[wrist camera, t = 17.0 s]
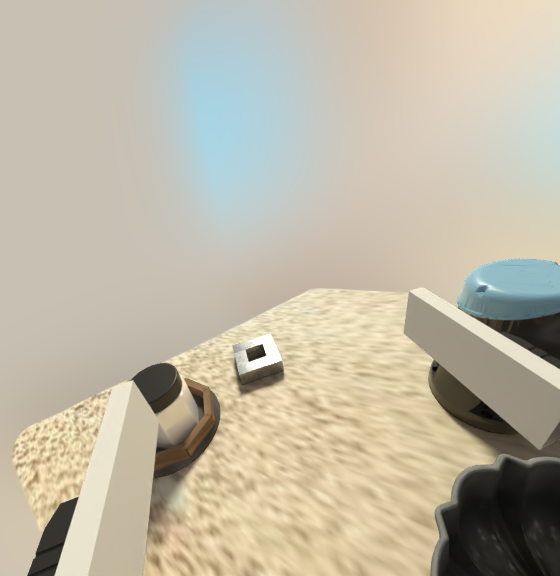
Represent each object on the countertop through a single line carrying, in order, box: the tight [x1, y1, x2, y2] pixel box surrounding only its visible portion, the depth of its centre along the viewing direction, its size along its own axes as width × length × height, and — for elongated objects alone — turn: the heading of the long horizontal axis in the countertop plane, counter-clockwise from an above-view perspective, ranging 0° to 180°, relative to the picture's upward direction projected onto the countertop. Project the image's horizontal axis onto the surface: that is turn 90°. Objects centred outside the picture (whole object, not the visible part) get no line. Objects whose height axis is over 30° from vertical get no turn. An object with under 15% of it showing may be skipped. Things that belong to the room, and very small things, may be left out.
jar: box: [131, 363, 199, 449], centre depth 44 cm, size 9×8×12 cm
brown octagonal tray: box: [153, 378, 220, 477], centre depth 47 cm, size 17×17×3 cm
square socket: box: [233, 334, 284, 385], centre depth 57 cm, size 9×9×3 cm
